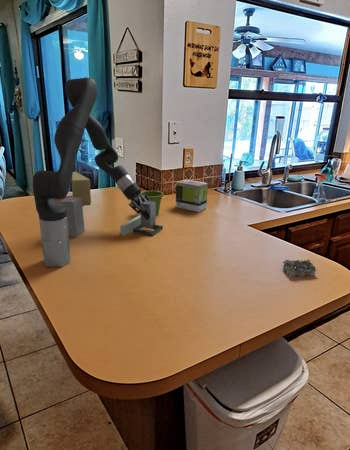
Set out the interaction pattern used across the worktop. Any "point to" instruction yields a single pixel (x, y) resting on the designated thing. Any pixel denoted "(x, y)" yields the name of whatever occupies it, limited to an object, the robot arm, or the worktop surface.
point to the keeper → (158, 228)
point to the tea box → (191, 195)
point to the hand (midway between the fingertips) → (151, 216)
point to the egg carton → (299, 268)
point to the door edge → (130, 225)
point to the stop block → (151, 210)
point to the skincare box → (74, 215)
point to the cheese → (81, 188)
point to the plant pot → (154, 198)
